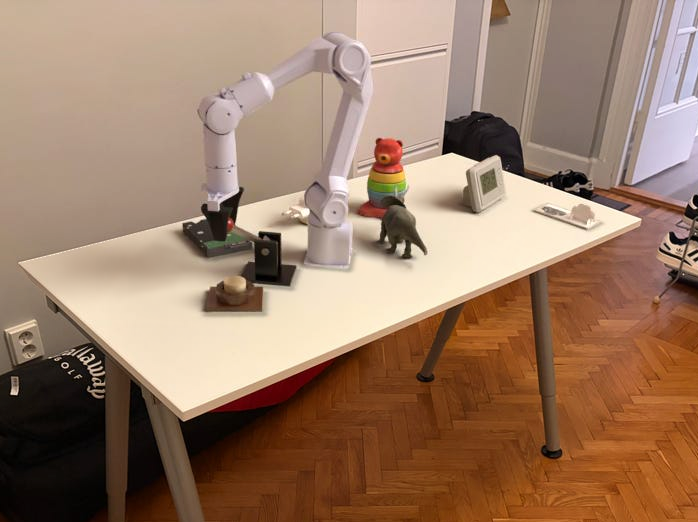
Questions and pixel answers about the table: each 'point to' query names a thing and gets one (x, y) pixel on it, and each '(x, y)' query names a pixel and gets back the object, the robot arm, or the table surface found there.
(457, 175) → the table surface
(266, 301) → the table surface
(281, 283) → the switch bracket
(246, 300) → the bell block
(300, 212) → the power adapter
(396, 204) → the toy dinosaur
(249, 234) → the lever
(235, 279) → the button
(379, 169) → the stacking bear
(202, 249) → the disk drive
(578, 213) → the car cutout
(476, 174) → the digital clock
